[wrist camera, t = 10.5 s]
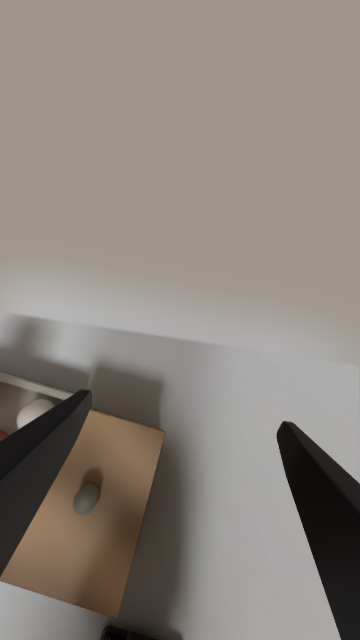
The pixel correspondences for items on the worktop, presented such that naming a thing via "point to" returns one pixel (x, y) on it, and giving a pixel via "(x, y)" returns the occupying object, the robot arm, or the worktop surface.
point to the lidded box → (90, 517)
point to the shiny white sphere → (33, 411)
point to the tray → (23, 398)
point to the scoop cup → (3, 434)
